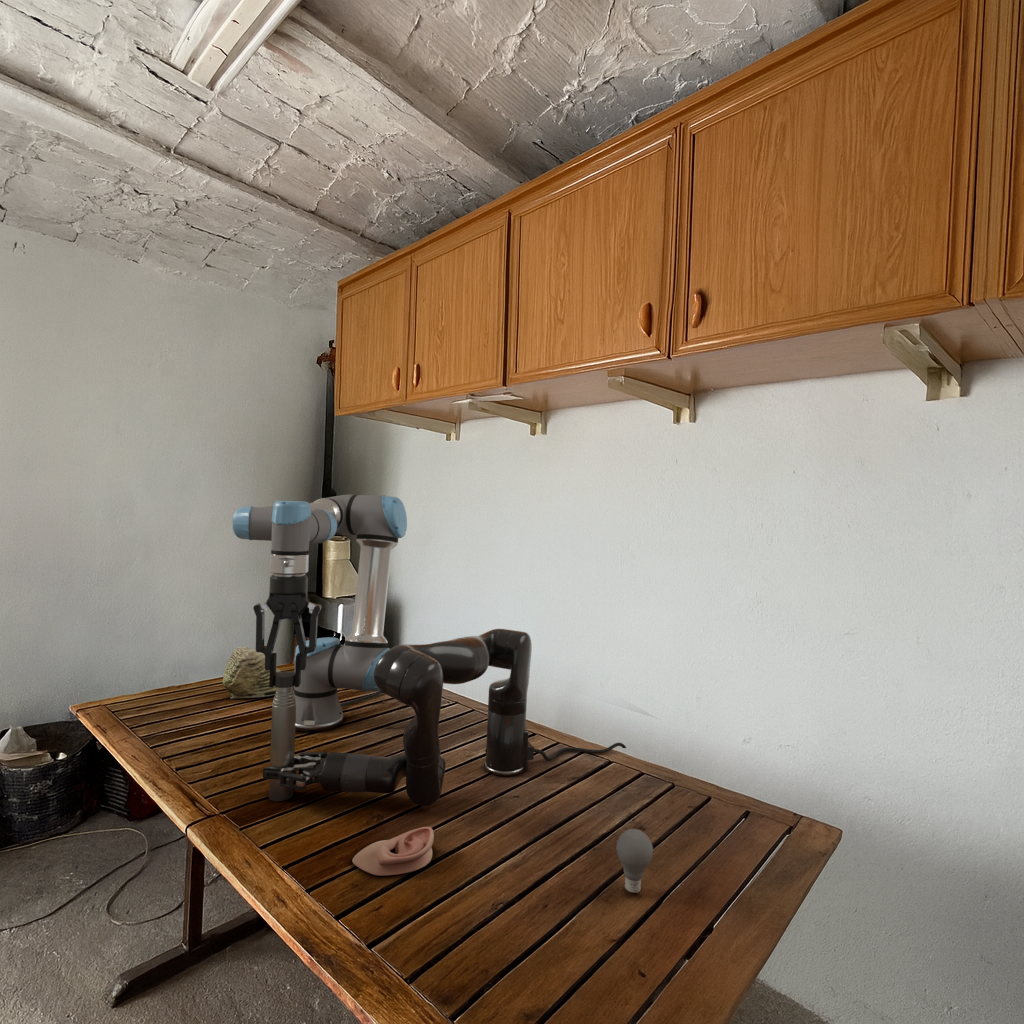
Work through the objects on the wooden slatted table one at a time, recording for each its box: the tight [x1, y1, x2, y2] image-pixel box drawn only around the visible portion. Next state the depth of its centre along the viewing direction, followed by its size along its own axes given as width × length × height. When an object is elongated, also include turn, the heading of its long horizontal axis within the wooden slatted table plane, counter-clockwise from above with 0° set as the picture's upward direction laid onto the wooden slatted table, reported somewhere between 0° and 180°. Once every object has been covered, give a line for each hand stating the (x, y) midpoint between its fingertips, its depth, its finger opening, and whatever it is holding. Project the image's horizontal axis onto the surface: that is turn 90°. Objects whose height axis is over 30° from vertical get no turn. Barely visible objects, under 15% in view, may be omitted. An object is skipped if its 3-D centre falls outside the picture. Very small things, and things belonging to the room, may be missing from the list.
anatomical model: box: [351, 826, 435, 877], centre depth 112 cm, size 13×4×12 cm
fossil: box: [222, 646, 281, 699], centre depth 198 cm, size 9×18×15 cm, turn 132°
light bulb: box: [615, 828, 654, 894], centre depth 106 cm, size 6×6×10 cm
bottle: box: [268, 686, 296, 802], centre depth 133 cm, size 5×5×25 cm
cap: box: [274, 670, 295, 688], centre depth 133 cm, size 4×4×2 cm
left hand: (285, 685), depth 133 cm, fingers closed on cap, 4 cm apart
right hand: (269, 767), depth 133 cm, fingers closed on bottle, 5 cm apart
